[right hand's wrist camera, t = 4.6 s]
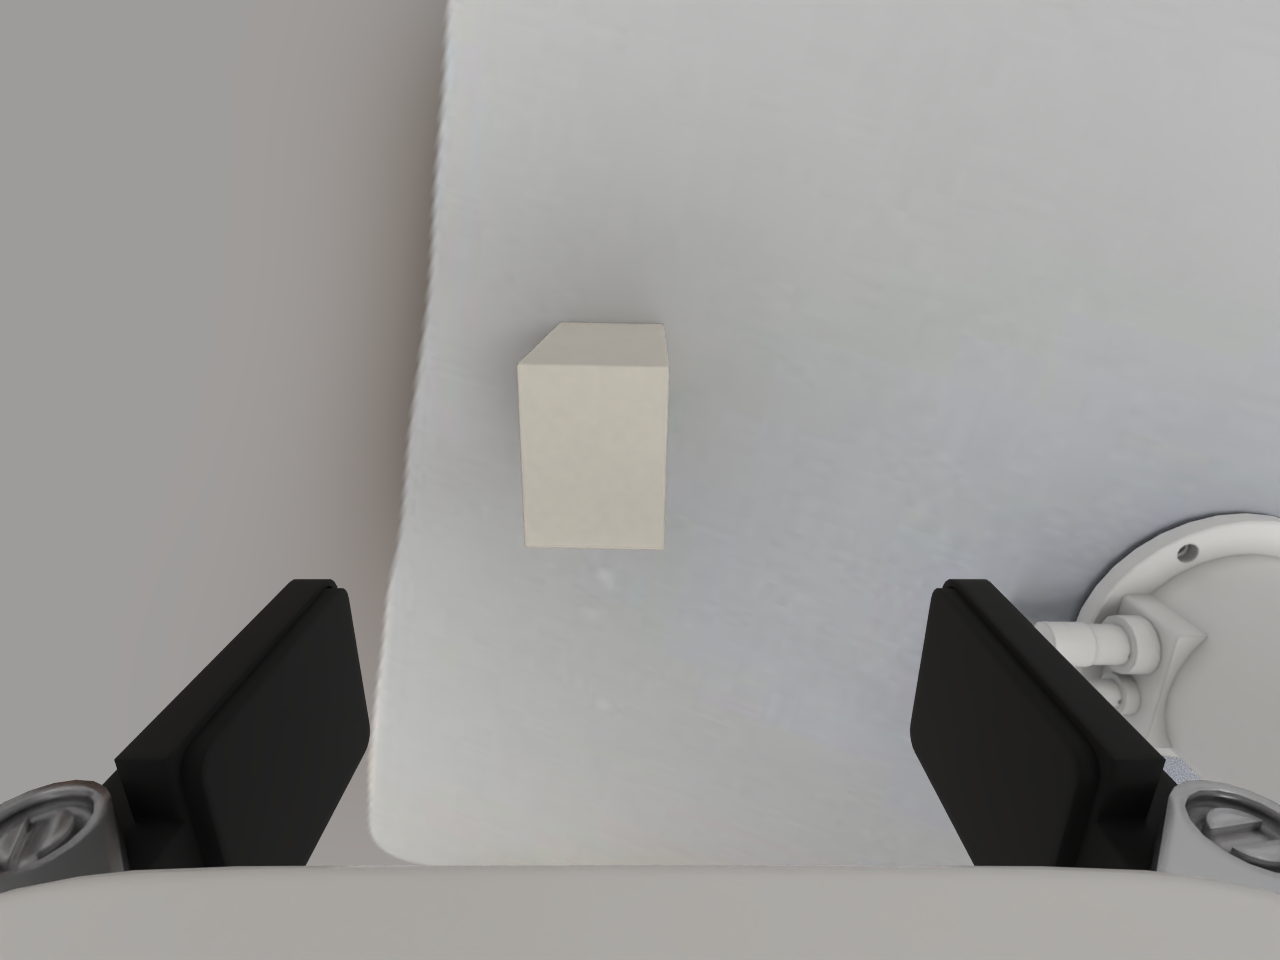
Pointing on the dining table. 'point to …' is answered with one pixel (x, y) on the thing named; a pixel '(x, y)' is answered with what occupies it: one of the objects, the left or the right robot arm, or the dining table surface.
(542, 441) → the block
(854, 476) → the dining table surface
